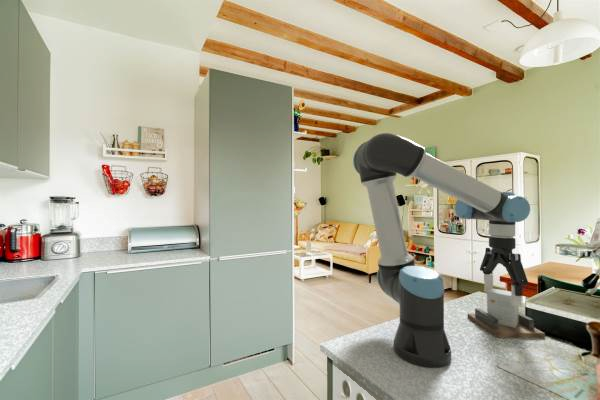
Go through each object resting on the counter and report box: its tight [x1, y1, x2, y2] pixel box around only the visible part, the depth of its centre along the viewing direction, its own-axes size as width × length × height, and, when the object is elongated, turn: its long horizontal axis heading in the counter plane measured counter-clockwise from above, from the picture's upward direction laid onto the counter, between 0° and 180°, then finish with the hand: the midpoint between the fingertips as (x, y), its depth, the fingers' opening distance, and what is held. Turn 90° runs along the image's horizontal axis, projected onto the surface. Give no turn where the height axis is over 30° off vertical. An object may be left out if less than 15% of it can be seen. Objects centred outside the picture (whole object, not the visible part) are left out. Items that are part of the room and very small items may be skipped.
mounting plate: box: [467, 308, 546, 339], centre depth 98 cm, size 15×16×4 cm
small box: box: [486, 287, 519, 328], centre depth 98 cm, size 8×6×10 cm
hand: (501, 298), depth 98 cm, fingers open, 13 cm apart
